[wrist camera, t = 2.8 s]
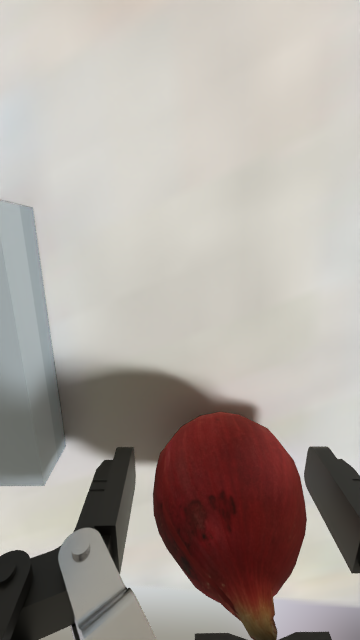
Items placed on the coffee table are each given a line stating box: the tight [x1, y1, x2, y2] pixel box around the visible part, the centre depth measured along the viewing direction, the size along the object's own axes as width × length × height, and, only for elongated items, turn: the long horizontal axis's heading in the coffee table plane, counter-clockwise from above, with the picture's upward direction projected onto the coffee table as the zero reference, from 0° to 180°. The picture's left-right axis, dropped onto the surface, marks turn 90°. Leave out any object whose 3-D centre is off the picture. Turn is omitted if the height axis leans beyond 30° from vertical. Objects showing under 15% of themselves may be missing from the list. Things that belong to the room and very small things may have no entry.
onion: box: [153, 412, 307, 640], centre depth 11 cm, size 6×6×8 cm
